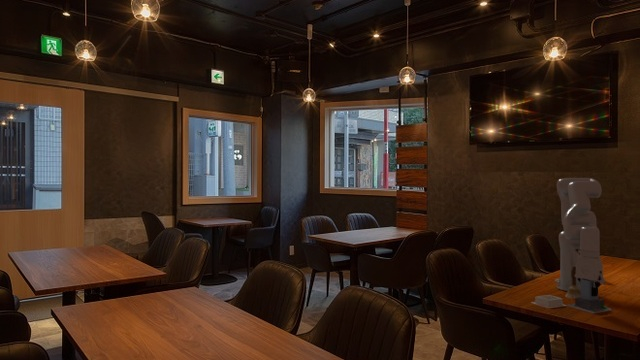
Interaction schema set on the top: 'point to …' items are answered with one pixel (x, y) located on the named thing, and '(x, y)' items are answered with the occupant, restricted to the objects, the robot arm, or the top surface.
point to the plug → (587, 290)
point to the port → (590, 305)
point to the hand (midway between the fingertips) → (589, 294)
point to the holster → (548, 301)
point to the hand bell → (573, 287)
